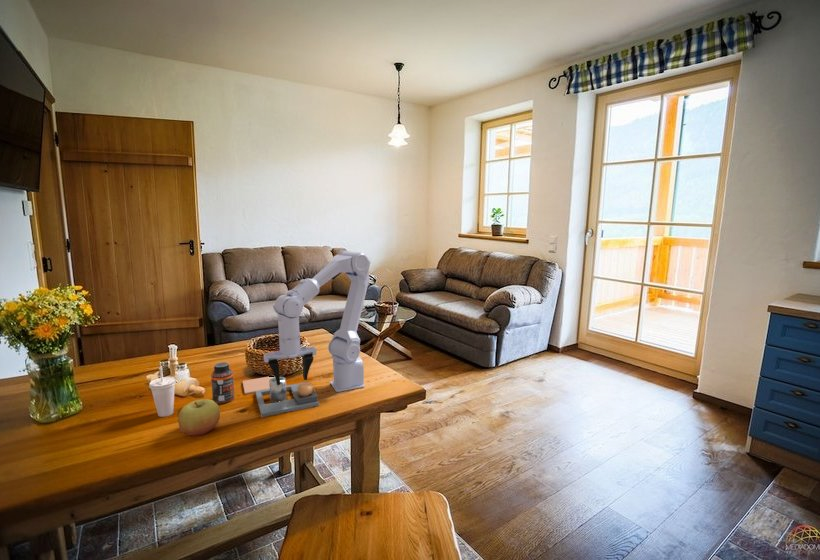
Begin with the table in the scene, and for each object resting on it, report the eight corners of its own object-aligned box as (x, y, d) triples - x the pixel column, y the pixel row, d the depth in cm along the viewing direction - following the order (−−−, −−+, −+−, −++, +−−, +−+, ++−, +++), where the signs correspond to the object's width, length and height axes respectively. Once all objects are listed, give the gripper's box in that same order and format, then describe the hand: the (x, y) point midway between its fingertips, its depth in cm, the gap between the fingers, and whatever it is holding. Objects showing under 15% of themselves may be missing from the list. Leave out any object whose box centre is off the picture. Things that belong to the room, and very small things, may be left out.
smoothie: (151, 421, 110) (146, 372, 108) (153, 411, 116) (148, 364, 114) (178, 416, 113) (173, 368, 111) (179, 406, 119) (174, 360, 116)
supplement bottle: (226, 405, 119) (223, 369, 117) (208, 403, 121) (205, 367, 119) (238, 396, 125) (236, 361, 123) (221, 394, 126) (218, 360, 124)
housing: (307, 384, 134) (306, 377, 133) (318, 405, 120) (318, 397, 119) (255, 394, 127) (255, 386, 126) (261, 417, 113) (261, 408, 112)
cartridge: (285, 393, 127) (284, 373, 126) (287, 400, 123) (286, 379, 122) (269, 396, 125) (268, 376, 124) (271, 403, 121) (270, 382, 120)
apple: (179, 426, 108) (176, 398, 107) (219, 417, 113) (217, 390, 111) (179, 444, 100) (176, 414, 98) (223, 434, 104) (220, 405, 103)
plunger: (311, 392, 124) (310, 381, 124) (314, 398, 121) (314, 387, 120) (296, 395, 122) (296, 384, 122) (299, 401, 119) (299, 390, 118)
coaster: (273, 377, 140) (273, 375, 139) (278, 388, 131) (278, 387, 131) (242, 382, 135) (242, 380, 135) (245, 394, 126) (244, 392, 126)
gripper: (264, 344, 110) (267, 391, 112) (318, 337, 116) (319, 381, 119) (261, 337, 116) (264, 381, 118) (312, 330, 122) (314, 373, 125)
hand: (291, 381), depth 119 cm, fingers open, 7 cm apart
